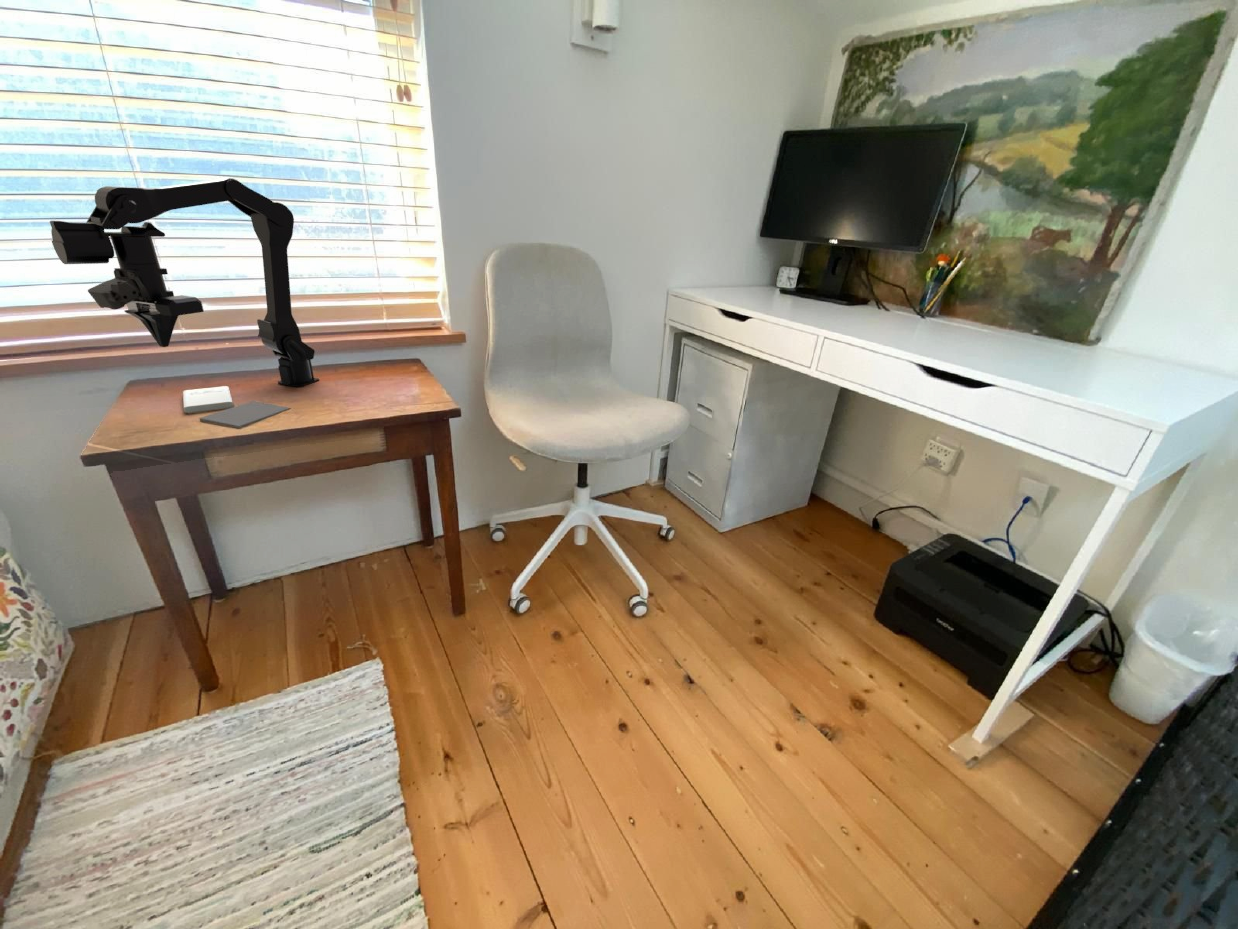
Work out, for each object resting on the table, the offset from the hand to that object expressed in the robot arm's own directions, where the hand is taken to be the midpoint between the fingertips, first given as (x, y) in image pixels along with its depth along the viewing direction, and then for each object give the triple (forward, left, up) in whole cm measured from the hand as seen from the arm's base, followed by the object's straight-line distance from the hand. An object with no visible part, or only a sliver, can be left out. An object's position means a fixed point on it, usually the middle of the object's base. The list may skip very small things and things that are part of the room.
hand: (164, 346), depth 105 cm
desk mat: (-2, +14, -13) cm, 19 cm away
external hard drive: (-1, +6, -12) cm, 14 cm away
